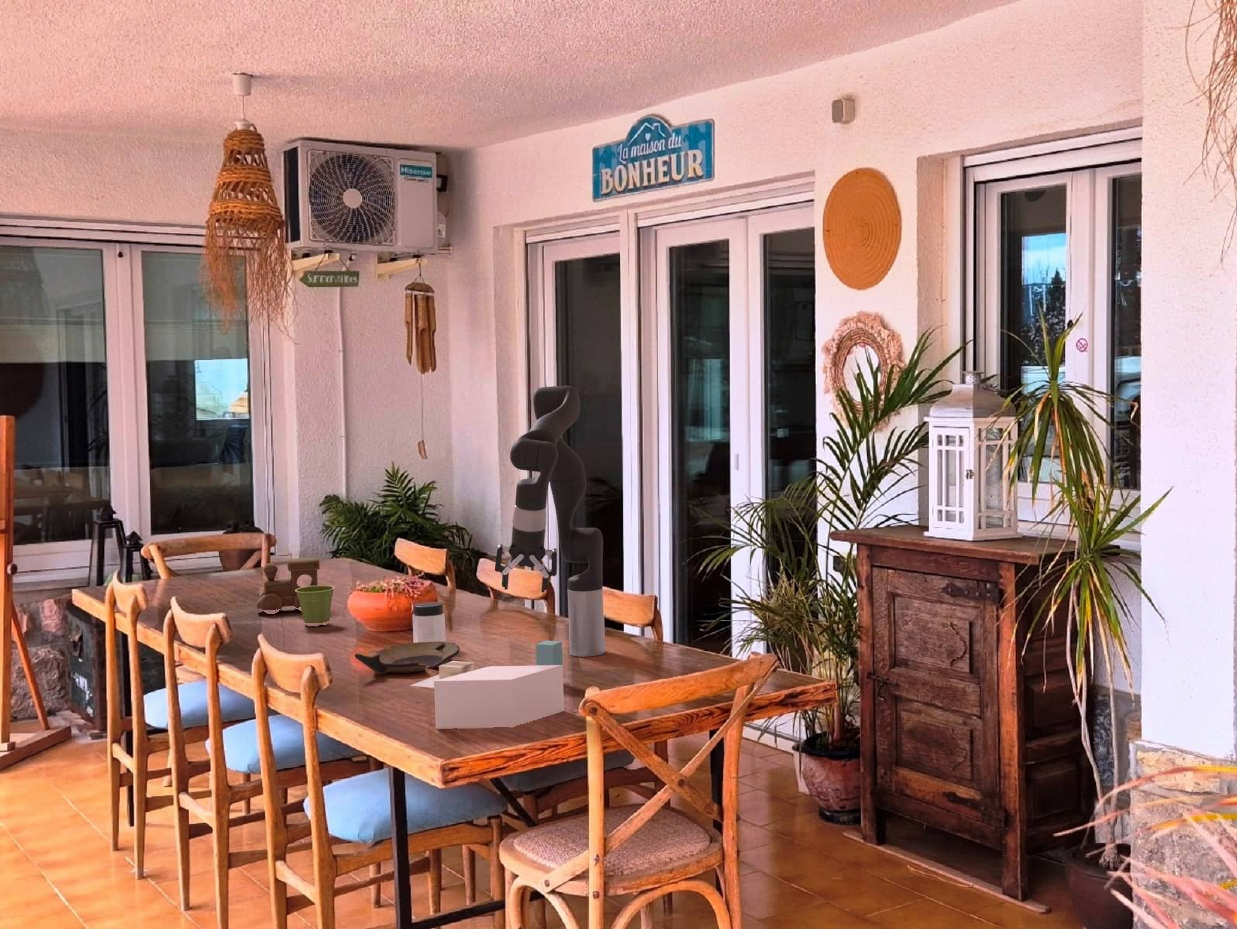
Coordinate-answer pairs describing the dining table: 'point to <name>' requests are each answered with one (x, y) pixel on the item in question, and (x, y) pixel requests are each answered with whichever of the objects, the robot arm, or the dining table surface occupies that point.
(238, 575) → the dining table surface
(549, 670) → the wide white block
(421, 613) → the jar
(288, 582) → the wooden toy train
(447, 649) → the oil lamp
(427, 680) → the build board
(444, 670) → the lower block
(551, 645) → the tall block
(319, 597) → the plant pot
